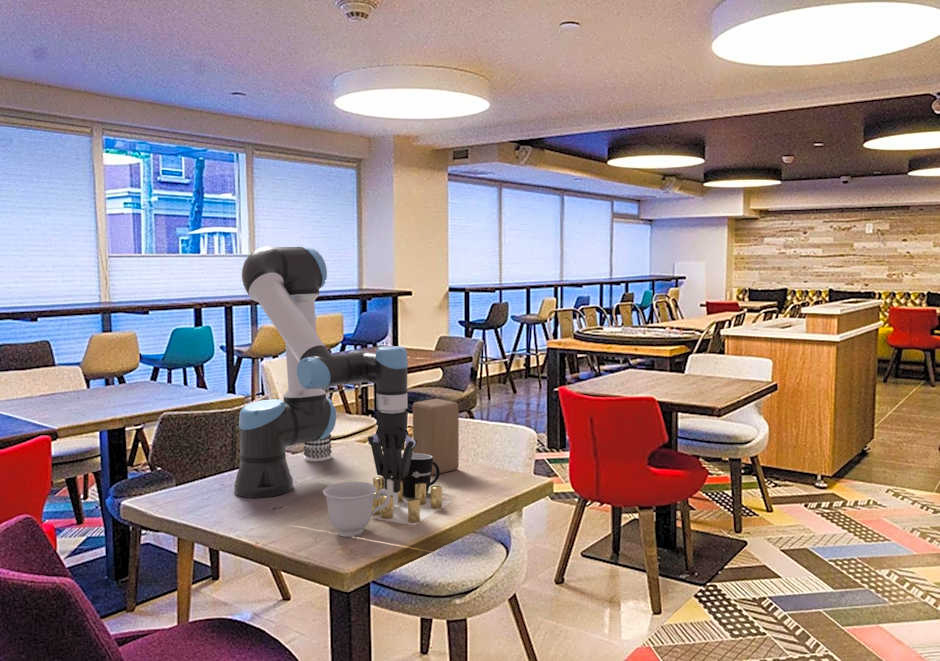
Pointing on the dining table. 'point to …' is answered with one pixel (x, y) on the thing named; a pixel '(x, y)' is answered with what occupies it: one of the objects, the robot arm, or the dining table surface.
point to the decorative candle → (318, 445)
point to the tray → (402, 511)
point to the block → (437, 432)
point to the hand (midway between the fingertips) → (392, 504)
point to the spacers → (412, 503)
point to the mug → (419, 473)
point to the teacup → (352, 505)
